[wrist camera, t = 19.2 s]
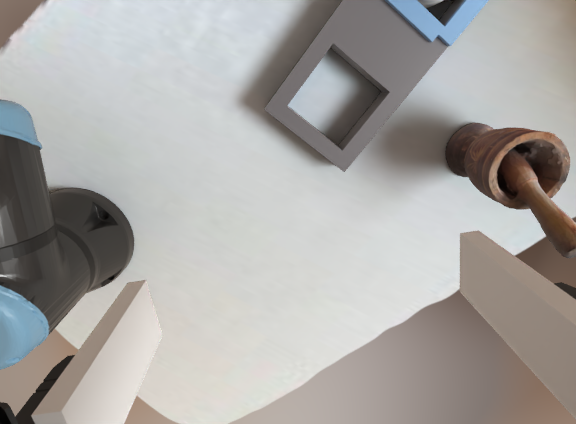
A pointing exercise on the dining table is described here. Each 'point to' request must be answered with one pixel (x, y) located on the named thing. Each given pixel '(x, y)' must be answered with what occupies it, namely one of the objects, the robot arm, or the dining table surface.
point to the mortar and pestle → (517, 173)
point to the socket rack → (373, 62)
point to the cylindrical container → (429, 2)
